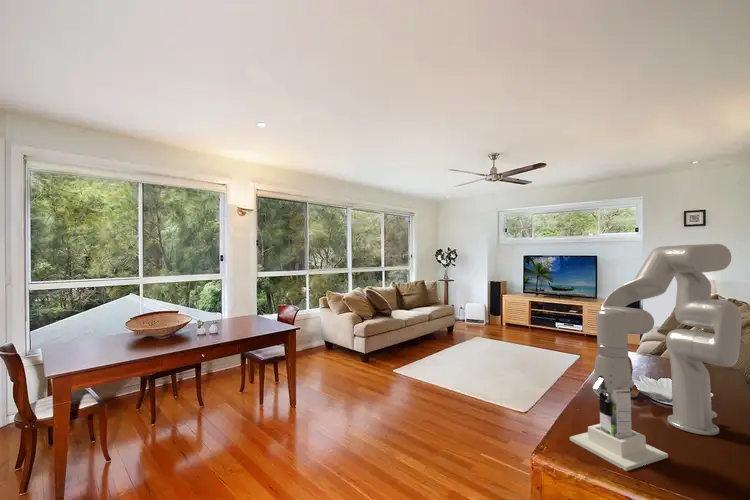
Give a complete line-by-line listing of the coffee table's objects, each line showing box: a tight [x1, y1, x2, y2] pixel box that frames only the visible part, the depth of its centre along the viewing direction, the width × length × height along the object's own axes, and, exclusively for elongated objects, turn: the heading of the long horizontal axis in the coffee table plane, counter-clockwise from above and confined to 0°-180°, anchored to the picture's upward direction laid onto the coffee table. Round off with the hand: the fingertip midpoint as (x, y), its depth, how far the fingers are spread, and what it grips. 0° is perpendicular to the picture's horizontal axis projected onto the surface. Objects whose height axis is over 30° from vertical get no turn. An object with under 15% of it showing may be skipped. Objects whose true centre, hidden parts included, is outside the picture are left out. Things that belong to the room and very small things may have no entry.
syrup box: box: [599, 388, 632, 440], centre depth 102 cm, size 6×6×14 cm
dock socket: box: [569, 423, 669, 472], centre depth 102 cm, size 17×17×5 cm
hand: (614, 411), depth 102 cm, fingers closed on syrup box, 6 cm apart
